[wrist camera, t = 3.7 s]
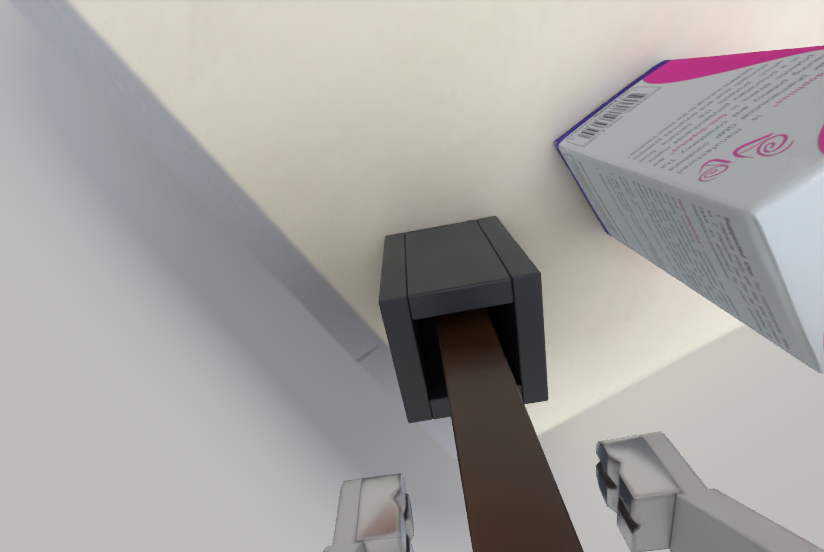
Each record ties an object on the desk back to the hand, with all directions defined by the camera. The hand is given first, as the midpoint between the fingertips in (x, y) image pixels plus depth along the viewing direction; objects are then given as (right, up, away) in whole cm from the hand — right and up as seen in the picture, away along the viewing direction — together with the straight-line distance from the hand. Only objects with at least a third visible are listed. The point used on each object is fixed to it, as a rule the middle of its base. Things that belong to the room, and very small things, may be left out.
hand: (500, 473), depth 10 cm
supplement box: (+8, +11, +9) cm, 16 cm away
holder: (0, +5, +11) cm, 12 cm away
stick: (0, +5, +11) cm, 12 cm away
